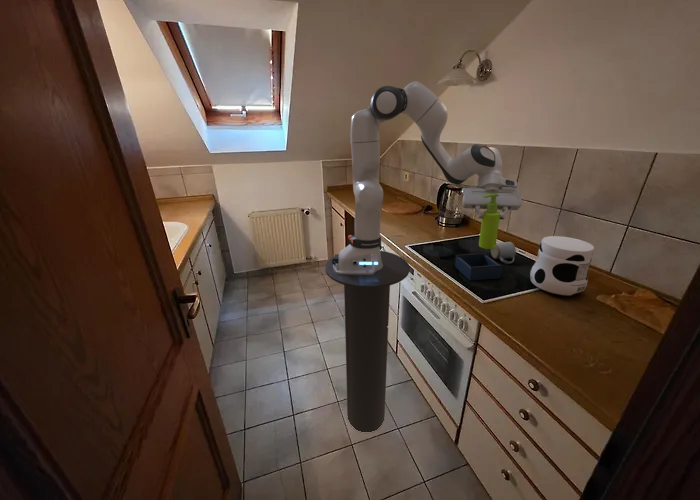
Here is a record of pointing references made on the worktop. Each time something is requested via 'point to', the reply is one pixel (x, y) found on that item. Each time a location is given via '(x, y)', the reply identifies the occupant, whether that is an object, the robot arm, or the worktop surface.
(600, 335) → the worktop surface
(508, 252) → the ceramic mug
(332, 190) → the worktop surface
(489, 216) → the soap dispenser
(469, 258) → the blue open box
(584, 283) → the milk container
